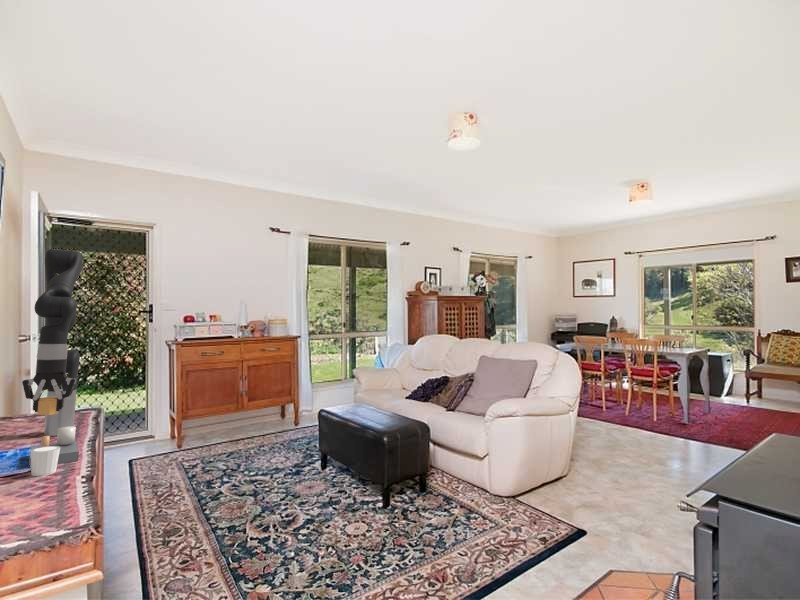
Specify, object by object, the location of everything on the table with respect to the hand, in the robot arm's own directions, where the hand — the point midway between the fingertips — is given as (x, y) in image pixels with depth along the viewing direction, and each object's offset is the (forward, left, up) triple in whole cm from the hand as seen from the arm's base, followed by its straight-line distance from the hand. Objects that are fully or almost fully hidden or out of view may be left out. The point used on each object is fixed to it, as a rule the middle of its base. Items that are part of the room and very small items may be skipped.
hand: (47, 411), depth 136 cm
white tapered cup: (+12, +3, -16) cm, 20 cm away
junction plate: (-4, +1, -16) cm, 17 cm away
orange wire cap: (0, 0, -1) cm, 1 cm away
